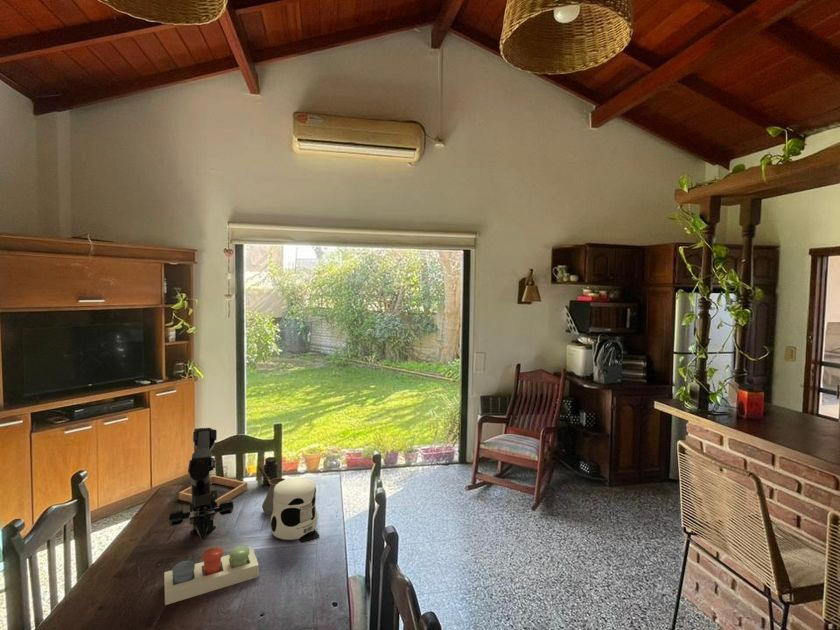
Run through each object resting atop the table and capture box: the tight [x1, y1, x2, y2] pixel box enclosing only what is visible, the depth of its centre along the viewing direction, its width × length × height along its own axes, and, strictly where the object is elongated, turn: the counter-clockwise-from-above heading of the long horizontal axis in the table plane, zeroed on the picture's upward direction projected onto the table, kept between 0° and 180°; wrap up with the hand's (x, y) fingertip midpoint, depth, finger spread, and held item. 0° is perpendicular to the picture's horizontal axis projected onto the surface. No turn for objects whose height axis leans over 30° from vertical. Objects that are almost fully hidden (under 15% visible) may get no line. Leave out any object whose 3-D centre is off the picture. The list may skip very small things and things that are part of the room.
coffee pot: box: [255, 465, 286, 517], centre depth 182 cm, size 21×12×15 cm, turn 49°
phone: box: [298, 529, 320, 544], centre depth 166 cm, size 7×1×15 cm
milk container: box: [270, 477, 319, 542], centre depth 164 cm, size 17×17×18 cm
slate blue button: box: [171, 560, 196, 585], centre depth 132 cm, size 6×6×6 cm
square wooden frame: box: [178, 474, 248, 506], centre depth 192 cm, size 20×19×3 cm
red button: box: [201, 547, 224, 576], centre depth 136 cm, size 6×6×6 cm
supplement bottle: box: [262, 456, 279, 487], centre depth 204 cm, size 7×7×12 cm
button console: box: [163, 548, 260, 606], centre depth 136 cm, size 10×26×4 cm, turn 121°
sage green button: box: [229, 545, 250, 569], centre depth 140 cm, size 6×6×6 cm
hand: (202, 540), depth 137 cm, fingers closed
